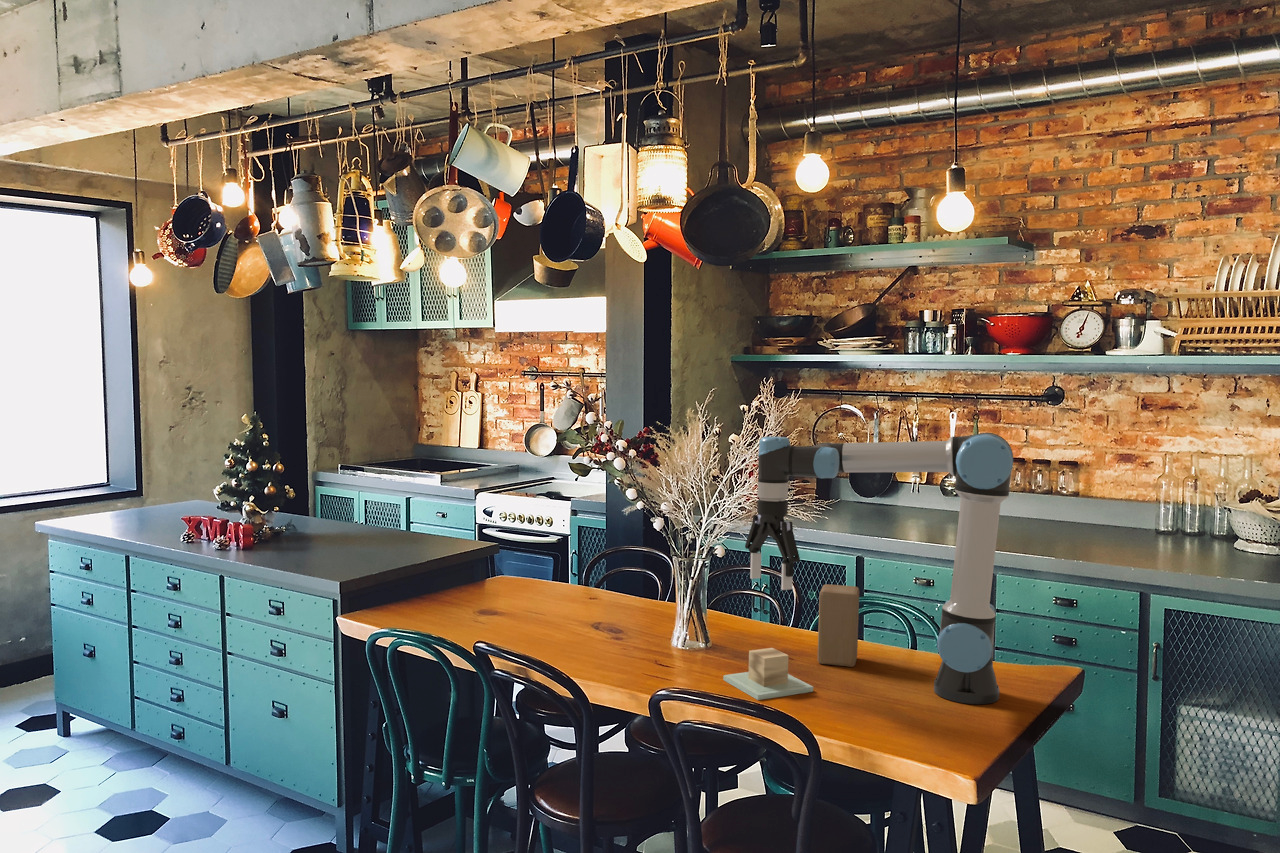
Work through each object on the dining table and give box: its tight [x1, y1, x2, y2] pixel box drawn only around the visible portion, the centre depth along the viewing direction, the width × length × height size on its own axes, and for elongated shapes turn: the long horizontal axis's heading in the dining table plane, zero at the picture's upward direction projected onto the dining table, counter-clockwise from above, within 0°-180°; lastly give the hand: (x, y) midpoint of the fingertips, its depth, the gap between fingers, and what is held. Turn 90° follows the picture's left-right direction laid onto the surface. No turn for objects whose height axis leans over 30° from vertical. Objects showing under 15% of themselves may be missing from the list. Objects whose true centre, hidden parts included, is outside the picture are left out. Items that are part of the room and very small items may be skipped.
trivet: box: [722, 671, 814, 701], centre depth 234 cm, size 16×16×1 cm
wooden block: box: [817, 584, 860, 668], centre depth 255 cm, size 10×10×20 cm
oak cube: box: [747, 647, 789, 687], centre depth 234 cm, size 7×7×7 cm
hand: (770, 583), depth 234 cm, fingers open, 13 cm apart
